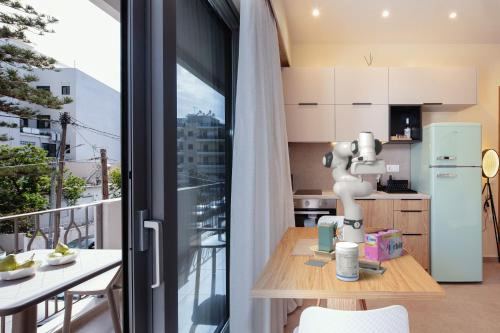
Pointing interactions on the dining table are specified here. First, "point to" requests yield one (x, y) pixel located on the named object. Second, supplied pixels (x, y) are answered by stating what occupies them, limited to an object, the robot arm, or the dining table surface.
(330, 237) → the tea tin
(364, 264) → the grey layered block
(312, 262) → the coaster
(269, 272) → the dining table surface
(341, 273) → the supplement tub
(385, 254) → the gum box
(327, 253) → the beige square bowl
